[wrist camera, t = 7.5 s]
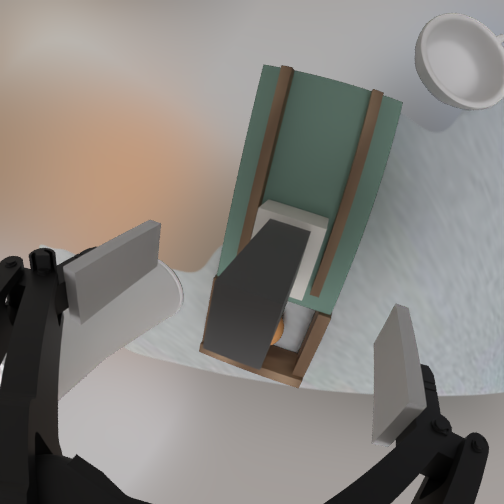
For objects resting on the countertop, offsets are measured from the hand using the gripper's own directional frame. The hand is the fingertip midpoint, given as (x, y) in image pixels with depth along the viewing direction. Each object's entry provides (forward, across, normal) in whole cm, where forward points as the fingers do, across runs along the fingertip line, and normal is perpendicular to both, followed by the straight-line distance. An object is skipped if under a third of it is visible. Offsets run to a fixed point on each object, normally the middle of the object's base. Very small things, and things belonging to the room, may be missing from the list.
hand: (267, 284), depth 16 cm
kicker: (+10, 0, -2) cm, 10 cm away
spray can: (+13, -17, -14) cm, 25 cm away
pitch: (+13, 0, +2) cm, 14 cm away
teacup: (+14, +10, +18) cm, 25 cm away
